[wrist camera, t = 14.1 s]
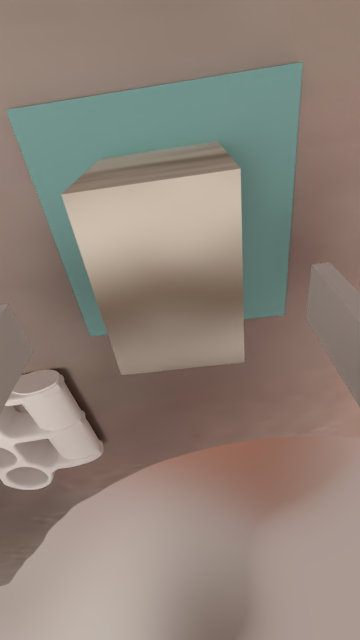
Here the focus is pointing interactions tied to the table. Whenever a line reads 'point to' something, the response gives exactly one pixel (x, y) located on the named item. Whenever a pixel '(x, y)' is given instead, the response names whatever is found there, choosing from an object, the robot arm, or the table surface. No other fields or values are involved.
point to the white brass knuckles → (43, 432)
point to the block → (164, 255)
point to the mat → (169, 132)
